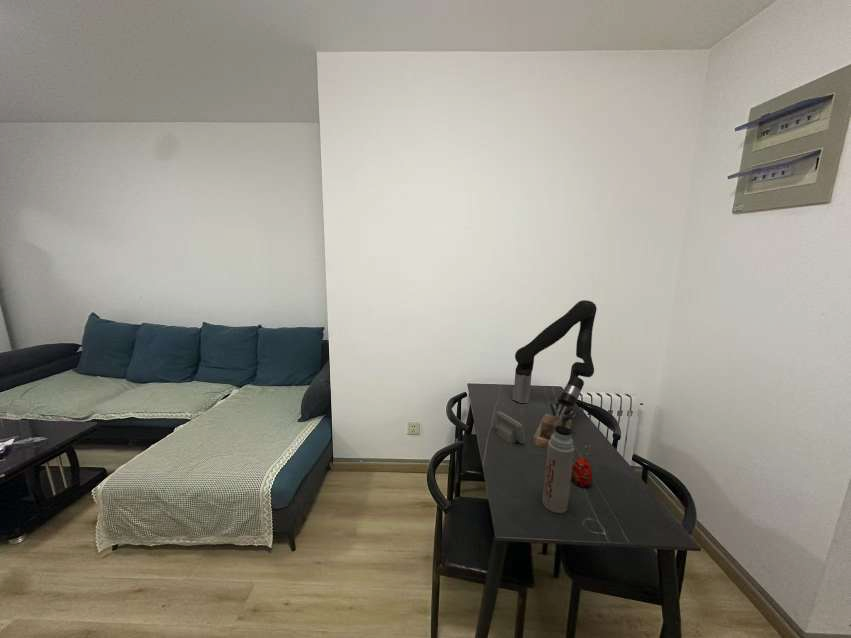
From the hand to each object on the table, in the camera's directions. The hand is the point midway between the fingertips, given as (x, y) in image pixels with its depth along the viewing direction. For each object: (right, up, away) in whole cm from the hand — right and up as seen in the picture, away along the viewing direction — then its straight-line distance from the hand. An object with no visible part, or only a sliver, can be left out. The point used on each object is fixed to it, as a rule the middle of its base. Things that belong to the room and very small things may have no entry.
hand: (555, 425), depth 155 cm
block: (-4, -4, -4) cm, 7 cm away
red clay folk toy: (-4, -10, -34) cm, 36 cm away
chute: (-2, -4, -1) cm, 4 cm away
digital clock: (-24, -4, -4) cm, 24 cm away
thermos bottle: (-19, -12, -46) cm, 51 cm away
